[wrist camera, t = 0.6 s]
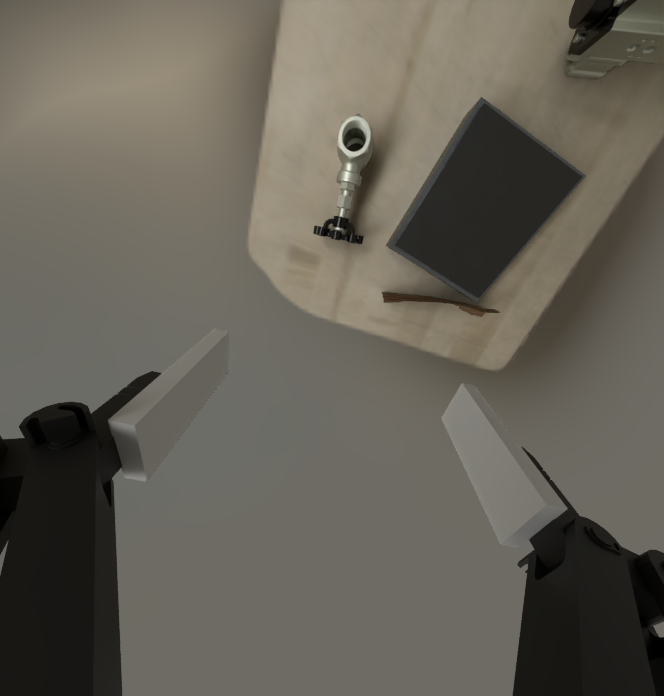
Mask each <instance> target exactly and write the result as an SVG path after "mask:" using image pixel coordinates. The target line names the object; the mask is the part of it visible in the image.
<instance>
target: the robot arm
mask: <svg viewBox="0 0 664 696" xmlns="http://www.w3.org/2000/svg"><path fill="white" fill-rule="evenodd" d="M228 342H229V331H224V330H220V329H215V328H214V329H213V330H212V331H211V332H209V333H208V334H207V335H206V336H205V337H204V338H202V339H201V340H200V341H199V342H198V343H197V344H196V345H194V346H193V347H192V348H191V349H190V350H189V351H188V352H186V353H185V354H184V355H183V356H182V357H180V358H179V359H178V360H177V361H176V362H175V363H174V364H172V365H171V366H170V367H169V368H168V369H167V370H165V371H164V372H163V373H158V372H153V371H151V372H149V373H147V374H144V375H142V376H140V377H138V378H136V379H135V380H134V381H133V382H131V383H130V384H129V385H127V387H125V388H124V389H122V390H121V391H120V392H119V393H118V394H117V395H115V396H113V397H112V398H111V399H109V400H108V401H107V402H106V403H104V404H103V405H102V406H101V407H99V408H98V409H97V410H95V411H94V412H93V413H92V414H90V411H89V408H88V406H86V405H84V404H82V403H77V402H65V403H58V404H54V405H50V406H47V407H44V408H42V409H40V410H38V411H35V412H33V413H32V414H31V415H29V416H28V417H26V418H25V419H24V420H23V422H22V423H21V424H20V426H19V428H20V430H21V432H22V434H23V435H24V437H25V438H19V439H2V438H1V436H0V554H1V552H2V551H3V549H4V547H5V545H6V543H7V541H8V540H9V541H8V545H7V550H6V554H5V558H4V563H3V567H2V571H1V575H0V696H122V678H121V653H120V629H119V606H118V582H117V581H118V580H117V557H116V534H115V533H116V532H115V509H114V485H113V484H114V483H113V480H112V477H113V476H114V475H115V474H116V473H117V472H118V471H119V469H120V468H122V471H123V475H124V478H129V479H135V480H140V481H146V482H147V481H148V480H149V479H150V477H151V476H152V475H153V473H154V472H155V471H156V469H157V468H158V467H159V465H160V464H161V462H162V461H163V460H164V458H165V457H166V456H167V454H168V453H169V452H170V450H171V449H172V448H173V446H174V445H175V443H176V442H177V441H178V440H179V438H180V437H181V436H182V434H183V433H184V432H185V430H186V429H187V428H188V426H189V425H190V423H191V422H192V421H193V419H194V418H195V417H196V415H197V414H198V413H199V411H200V410H201V409H202V407H203V406H204V405H205V403H206V402H207V401H208V399H209V398H210V397H211V395H212V394H213V393H214V391H215V390H216V389H217V387H218V386H219V385H220V383H221V382H222V380H223V379H224V378H225V376H226V375H227V374H228V344H229V343H228ZM441 419H442V421H443V423H444V425H445V427H446V430H447V432H448V434H449V436H450V438H451V440H452V442H453V445H454V447H455V449H456V451H457V453H458V455H459V457H460V460H461V462H462V464H463V466H464V468H465V470H466V472H467V474H468V476H469V479H470V481H471V483H472V485H473V487H474V489H475V491H476V493H477V496H478V498H479V500H480V502H481V504H482V506H483V508H484V511H485V513H486V515H487V517H488V519H489V521H490V523H491V526H492V528H493V530H494V532H495V534H496V536H497V538H498V540H499V542H500V544H501V545H504V546H510V547H515V548H520V547H521V546H523V545H524V544H525V543H526V542H528V541H529V540H530V542H531V544H532V545H533V547H534V549H535V550H533V551H532V552H531V553H529V554H528V555H527V556H526V557H525V558H523V559H522V560H520V561H519V563H518V566H519V567H520V568H521V567H522V566H524V565H525V564H528V570H526V571H525V572H526V573H527V579H526V588H525V596H524V605H523V613H522V621H521V630H520V638H519V647H518V655H517V663H516V672H515V680H514V689H513V696H664V637H662V638H660V637H659V636H658V634H657V633H656V631H655V629H654V627H653V625H656V624H659V623H661V622H663V621H664V553H662V552H660V551H657V550H649V551H647V552H645V553H643V554H642V555H637V554H635V553H633V552H631V551H629V550H627V549H625V548H623V547H621V546H620V545H619V543H618V542H617V541H616V540H615V539H614V538H613V537H612V536H611V535H610V534H609V533H608V532H607V531H606V530H605V529H604V528H602V527H601V526H600V525H598V524H597V523H595V522H594V521H591V520H590V519H588V518H585V517H580V516H579V515H578V513H577V512H576V511H575V509H574V508H573V507H572V506H571V504H570V503H569V502H568V501H567V499H566V498H565V497H564V495H563V494H562V493H561V491H560V490H559V489H558V488H557V486H556V485H555V484H554V482H553V481H552V480H550V477H549V476H548V475H547V473H546V472H545V471H543V468H542V467H541V466H540V464H539V463H538V462H537V460H535V458H534V457H533V456H532V455H531V454H530V453H529V452H527V451H526V450H525V449H524V448H523V447H521V446H520V445H519V444H518V442H517V441H516V440H515V438H514V437H513V436H512V434H511V433H510V432H509V430H508V429H507V428H506V426H505V425H504V424H503V422H502V421H501V420H500V419H499V417H498V416H497V414H496V413H495V412H494V411H493V410H492V408H491V407H490V405H489V404H488V403H487V401H486V400H485V399H484V397H483V396H482V395H481V393H480V392H479V391H478V390H477V388H476V387H475V386H473V385H468V384H464V383H462V384H461V386H460V387H459V389H458V391H457V392H456V394H455V396H454V397H453V399H452V401H451V402H450V404H449V406H448V407H447V409H446V411H445V412H444V414H443V416H442V418H441Z"/></svg>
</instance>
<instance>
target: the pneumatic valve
mask: <svg viewBox="0 0 664 696" xmlns="http://www.w3.org/2000/svg"><path fill="white" fill-rule="evenodd" d="M569 27H570V28H571V29H576V32H575V34H574V37H573V40H572V42H571V44H570V46H569V48H568V50H567V53H566V59H567V60H571V61H572V63H571V65H568V66H567V68H566V70H565V73H566V76H571V77H580V78H589V79H599V78H600V77H603V76H604V75H606V73H607V71H608V70H610V69H611V68H612V67H614V66H615V65H618V66H622V65H623V64H624V63H625V62H627V61H636V62H646V63H655V64H664V0H575V2H574V4H573V7H572V10H571V13H570V17H569Z"/></svg>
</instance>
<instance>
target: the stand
mask: <svg viewBox="0 0 664 696" xmlns="http://www.w3.org/2000/svg"><path fill="white" fill-rule="evenodd" d="M584 177H585V175H584V174H583V173H581V172H580V171H579V170H577V169H576V168H575V167H573V166H572V165H571V164H569V163H568V162H567V161H565V160H564V159H563V158H561V157H560V156H559V155H558V154H556V153H555V152H554V151H552V150H551V149H550V148H548V147H547V146H546V145H544V144H543V143H542V142H540V141H539V140H538V139H536V138H535V137H534V136H532V135H531V134H530V133H528V132H527V131H526V130H524V129H523V128H522V127H521V126H519V125H518V124H517V123H515V122H514V121H513V120H511V119H510V118H509V117H507V116H506V115H505V114H503V113H502V112H501V111H499V110H498V109H497V108H495V107H494V106H493V105H491V104H490V103H489V102H487V101H486V100H485V99H484V98H482V97H481V98H480V99H479V101H478V102H477V103H476V104H475V105H474V106H473V108H472V109H471V110H470V111H469V112H468V113H467V115H466V116H465V117H464V119H463V120H462V122H461V124H460V125H459V127H458V129H457V130H456V132H455V133H454V135H453V137H452V138H451V140H450V142H449V143H448V145H447V147H446V148H445V150H444V151H443V153H442V155H441V156H440V158H439V160H438V161H437V163H436V164H435V166H434V168H433V169H432V171H431V173H430V174H429V176H428V178H427V179H426V181H425V182H424V184H423V186H422V187H421V189H420V191H419V192H418V194H417V195H416V197H415V199H414V200H413V202H412V204H411V205H410V207H409V209H408V210H407V212H406V213H405V215H404V217H403V218H402V220H401V222H400V223H399V225H398V227H397V228H396V230H395V231H394V233H393V235H392V236H391V238H390V240H389V241H388V243H387V244H386V246H387V247H389V248H391V249H392V250H394V251H395V252H397V253H398V254H400V255H402V256H403V257H405V258H406V259H408V260H410V261H411V262H413V263H414V264H416V265H417V266H419V267H421V268H422V269H424V270H425V271H427V272H428V273H430V274H432V275H433V276H435V277H436V278H438V279H439V280H441V281H443V282H444V283H446V284H447V285H449V286H450V287H452V288H454V289H455V290H457V291H458V292H460V293H461V294H463V295H465V296H466V297H468V298H470V299H472V300H473V301H475V302H478V301H479V300H480V299H481V297H482V296H483V295H484V294H485V293H486V292H487V290H488V289H489V288H490V287H491V286H492V285H493V283H494V282H495V281H496V280H497V279H498V278H499V276H500V275H501V274H502V273H503V272H504V271H505V269H506V268H507V267H508V266H509V265H510V264H511V262H512V261H513V260H514V259H515V258H516V257H517V255H518V254H519V253H520V252H521V251H522V250H523V248H524V247H525V246H526V245H527V244H528V243H529V241H530V240H531V239H532V238H533V237H534V236H535V235H536V233H537V232H538V231H539V230H540V229H541V228H542V226H543V225H544V224H545V223H546V222H547V221H548V219H549V218H550V217H551V216H552V215H553V214H554V212H555V211H556V210H557V209H558V208H559V207H560V205H561V204H562V203H563V202H564V201H565V200H566V198H567V197H568V196H569V195H570V194H571V193H572V191H573V190H574V189H575V188H576V187H577V186H578V184H579V183H580V182H581V181H582V180H583V179H584Z"/></svg>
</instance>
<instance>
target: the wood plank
mask: <svg viewBox="0 0 664 696" xmlns="http://www.w3.org/2000/svg"><path fill="white" fill-rule="evenodd" d="M382 294H383V298H384V303H388V302H389V303H390V302H401V301H418V302H442V303H444V304H445V303H450V304H454V305H456V306H459V308H460V309H462V310H463V311H465V312H468V313H470V314H472V315H477V316H483V315H484V314H485V312H486V313H500V312H499V311H497V310H495V309H484V308H481V307H477V306H473V305H469V304H466V303H460V302H455V301H450V300H445V299H440V298H435V297H429V296H417V295H405V294H396V293H385V292H382Z"/></svg>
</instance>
